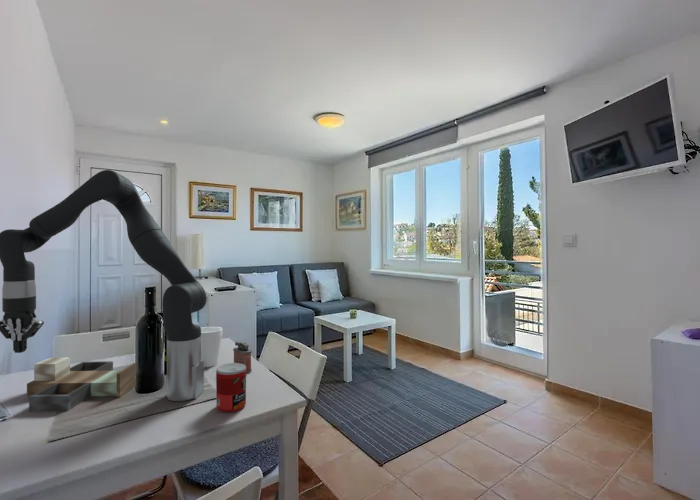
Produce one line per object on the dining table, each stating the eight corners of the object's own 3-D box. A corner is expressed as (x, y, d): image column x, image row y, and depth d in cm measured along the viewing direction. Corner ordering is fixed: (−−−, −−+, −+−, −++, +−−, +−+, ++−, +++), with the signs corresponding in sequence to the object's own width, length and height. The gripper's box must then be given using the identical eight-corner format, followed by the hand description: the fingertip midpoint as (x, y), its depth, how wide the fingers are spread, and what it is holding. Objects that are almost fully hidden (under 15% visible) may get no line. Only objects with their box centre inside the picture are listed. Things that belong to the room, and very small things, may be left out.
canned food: (237, 414, 94) (237, 373, 94) (210, 411, 96) (210, 371, 96) (251, 402, 102) (251, 363, 102) (225, 399, 103) (225, 361, 103)
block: (70, 373, 112) (69, 357, 112) (55, 380, 106) (55, 364, 106) (50, 373, 112) (50, 357, 112) (34, 380, 106) (34, 364, 106)
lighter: (253, 371, 126) (253, 343, 126) (246, 374, 123) (246, 345, 123) (238, 366, 130) (238, 339, 130) (230, 369, 127) (230, 341, 127)
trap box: (154, 372, 124) (154, 352, 124) (102, 410, 96) (102, 384, 96) (74, 373, 123) (73, 353, 123) (-2, 411, 95) (-3, 385, 95)
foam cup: (216, 368, 128) (216, 332, 128) (190, 368, 128) (190, 332, 128) (226, 360, 138) (226, 326, 137) (202, 359, 138) (202, 326, 137)
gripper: (51, 293, 112) (52, 348, 112) (8, 293, 111) (8, 348, 112) (31, 297, 105) (32, 356, 105) (-16, 297, 104) (-15, 356, 104)
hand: (20, 352), depth 108 cm, fingers closed
